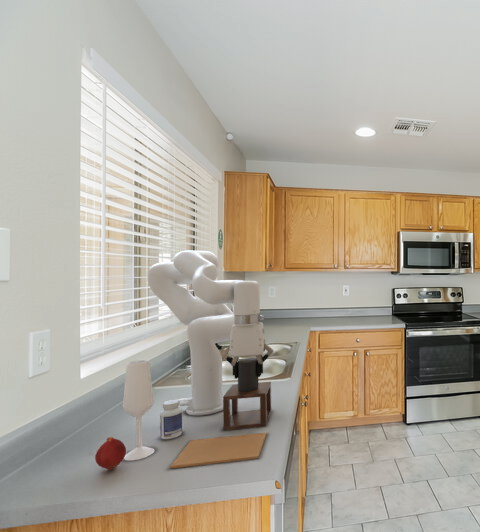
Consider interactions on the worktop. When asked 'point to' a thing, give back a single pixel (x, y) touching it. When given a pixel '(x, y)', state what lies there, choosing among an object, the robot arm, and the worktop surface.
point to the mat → (220, 450)
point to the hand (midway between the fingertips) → (248, 376)
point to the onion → (110, 453)
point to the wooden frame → (247, 417)
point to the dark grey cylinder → (247, 374)
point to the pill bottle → (171, 420)
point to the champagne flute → (138, 402)
